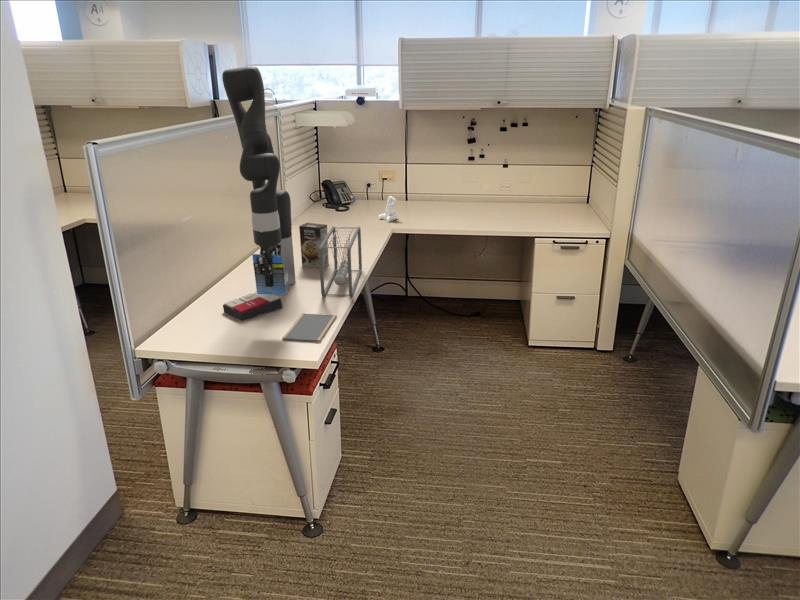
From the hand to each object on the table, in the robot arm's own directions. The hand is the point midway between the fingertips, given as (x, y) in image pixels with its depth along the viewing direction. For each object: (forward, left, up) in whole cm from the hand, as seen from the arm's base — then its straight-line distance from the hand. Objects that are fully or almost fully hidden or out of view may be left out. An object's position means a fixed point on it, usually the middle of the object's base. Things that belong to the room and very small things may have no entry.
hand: (272, 283), depth 167 cm
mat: (0, +11, -14) cm, 17 cm away
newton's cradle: (-39, +11, -14) cm, 42 cm away
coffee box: (-58, -5, -14) cm, 60 cm away
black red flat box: (-11, -12, -14) cm, 21 cm away
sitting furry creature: (-135, +11, -14) cm, 136 cm away
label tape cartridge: (0, 0, -3) cm, 3 cm away
